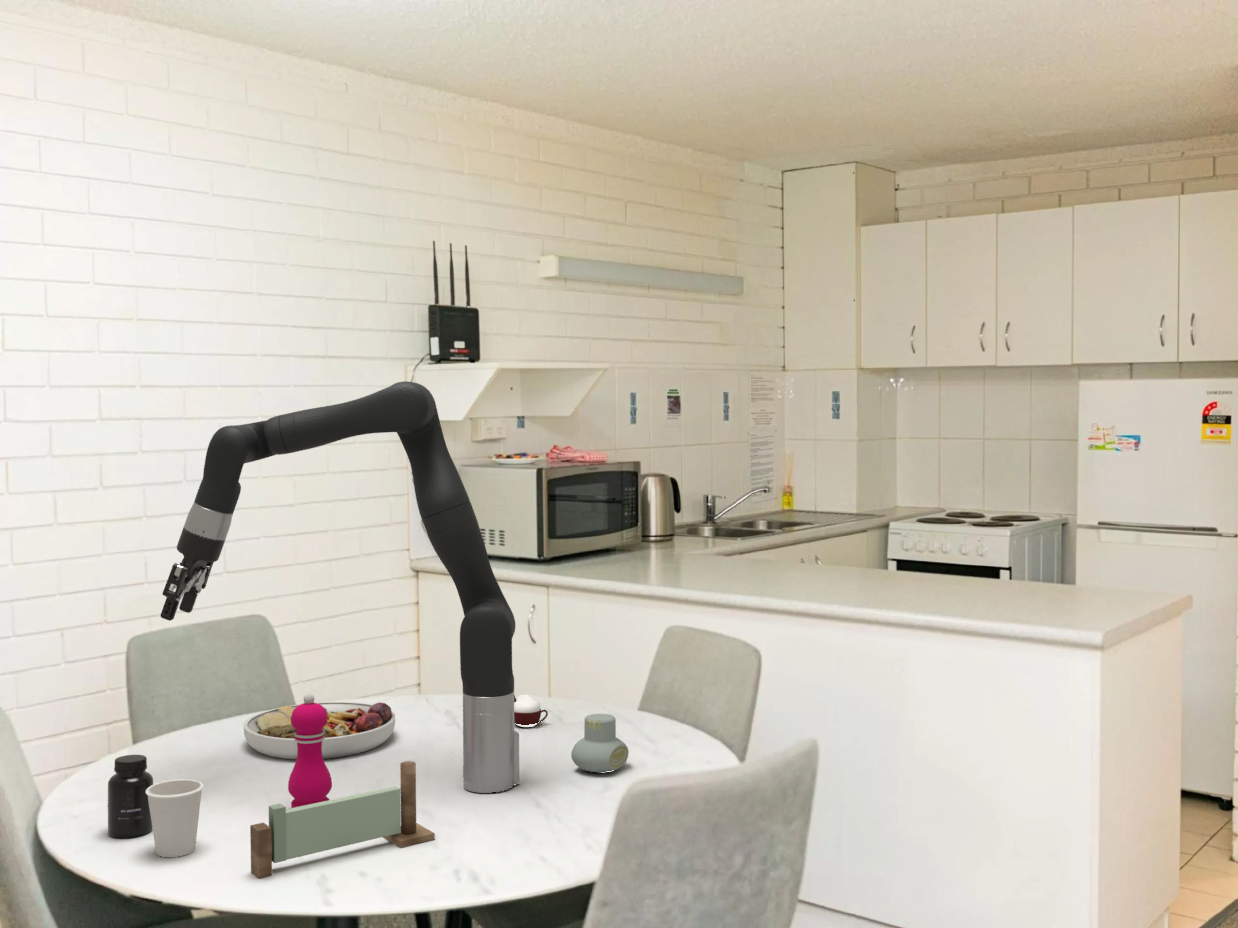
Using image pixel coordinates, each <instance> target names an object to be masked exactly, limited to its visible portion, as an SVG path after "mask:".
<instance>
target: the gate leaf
mask: <svg viewBox="0 0 1238 928" xmlns="http://www.w3.org/2000/svg"><path fill="white" fill-rule="evenodd" d="M268 826H269V827H271V841H272V863H273V864H277V863H281V862H286V861H288V860H292V859H295V858H300V857H305V856H308V855H313V854H316V853H320V852H321V853H322V852H325V851H326V852H327V851H330V850H334V849H337V848H342V847H346V846H351V845H355V844H358V843H359V844H360V843H363V842H366V841H372V840H377V839H380V838H384V837H385V836H389V835H393V834H398V833H401V787H398V786H390V787H386V788H382V789H381V788H380V789H376V790H372V791H366V792H362V793H357V794H353V795H347V796H343V797H339V798H334V799H329V800H328V801H323V802H319V803H314V804H309V805H304V806H300V807H295V808H291V807H290V808H286V806H285V805H284V804H282V803H275V804H271V805H269V806H268Z"/></svg>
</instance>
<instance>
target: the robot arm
mask: <svg viewBox="0 0 1238 928" xmlns="http://www.w3.org/2000/svg"><path fill="white" fill-rule="evenodd" d="M382 433H397V436H398V438H399V440H400V441H401V444H402V447H403V448H404V451H405V453H406V456H407V459H408V462H409V464H410V468H411V473H412V480H413V488H414V494H415V499H416V504H417V508H418V511H419V515H420V518H421V521H422V523H423V527H424V529H425V532H426V534H427V537H428V539H429V542H430V544H431V546H432V548H433V550H434V552H435V553H436V555H437V557H438V559H439V560H440V562H441V563H442V565H443V566H444V568H445V570H447V572H448V573H449V575H450V577H451V579H452V581H453V583H454V586H455V588H456V590H457V595H458V597H459V600H460V604H461V607H462V611H463V616H464V617H463V618H462V620H461V623H460V629H459V659H460V660H459V661H460V662H459V663H460V666H459V667H460V668H459V669H460V678H461V682H462V763H463V766H462V769H463V770H462V771H463V773H462V779H463V780H462V781H463V782H462V783H463V788H464V789H465V790H466V791H469V792H473V793H478V794H493V793H492V792H496V793H500V791H502V792H504V791H503V790H506V791H508V790H507V789H509V788H510V787H512V786H513V785H514V784H518V783H519V784H520V734H519V731H516V730H515V723H514V695H515V675H514V671H513V638H514V635H515V633H516V632H515V631H516V620H515V616H514V612H513V611H512V608H511V607H510V605H509V603H508V601H507V599H506V597H505V595H504V594H503V592H502V589H501V587H500V585H499V582H498V581H497V578H496V576H495V573H494V572H493V568H492V566H491V562H490V559H489V554H488V552H487V548H486V544H485V542H484V538H483V535H482V532H481V529H480V526H479V522H478V519H477V516H476V514H475V510H474V508H473V505H472V502H471V500H470V497H469V495H468V492H467V490H466V488H465V485H464V483H463V480H462V478H461V476H460V474H459V471H458V469H457V467H456V465H455V463H454V459H452V456H451V455H450V452H449V449H448V447H447V443H446V439H445V436H444V433H443V429H442V426H441V421H440V417H439V412H438V407H437V404H436V401H435V398H434V396H433V394H432V393H431V391H430V390H429V389H428V388H427V387H425V386H424V385H422V384H421V383H419V382H418V383H417V382H413V381H405V380H404V381H398V382H396V383H393V384H392V385H390V386H388V387H385V388H383V389H380V390H378V391H376V392H375V391H374V392H373V393H370V394H368V395H365V396H363V397H359V398H356V399H353V400H349V401H346V402H340V403H336V404H330V405H325V406H320V407H313V408H308V409H307V408H306V409H302V410H298V411H292V412H289V413H285V414H284V413H283V414H279V415H276V416H273V417H270V418H268V419H266V420H261V421H257V422H250V423H245V424H238V425H236V424H235V425H226V426H222V427H220V428H219V429H218V430H216V431H215V432H214V434H213V435H212V437H211V438H210V441H209V443H208V446H207V448H206V449H207V450H206V454H205V459H204V466H203V475H202V479H201V482H200V483H199V486H198V489H197V493H196V495H195V498H194V501H193V503H192V505H191V507H190V509H189V512H188V514H187V516H186V519H185V522H184V524H183V527H182V531H181V533H180V536H179V539H178V542H177V545H176V550H177V551H178V553H180V554H182V556H183V558H182V559H181V562H179V563H176V562H174V563H173V565H172V567H171V569H170V573H169V575H168V577H167V581H166V583H165V586H164V589H163V590H162V596H164V597H165V601H164V603H163V607H162V610H161V613H160V618H161V619H164V620H167V621H172V620H174V618H175V615H176V613H177V610H180V611H182V612H185V613H187V614H190V613H192V611H193V609H194V607H195V603H196V601H197V597H198V595H199V594H200V593H201V592H202V589H203V590H204V589H205V588H206V586H207V583H208V580H209V578H210V574H211V573H212V572H211V571H212V568H213V564H214V563H215V562H217V561H219V558H220V556H221V553H222V551H223V548H224V544H225V542H226V539H227V538H228V537H227V536H228V534H229V530H230V527H231V525H232V524H231V523H232V518H233V516H234V512H235V509H236V507H237V503H238V501H239V498H240V494H241V491H242V486H241V483H240V482H239V481H240V477H241V474H242V471H243V468H244V464H248V463H252V462H257V461H260V460H264V459H266V458H267V459H268V458H270V457H274V456H277V455H278V456H280V455H288V454H292V453H296V452H297V453H298V452H302V451H307V450H310V449H315V448H320V447H322V446H325V445H330V444H332V443H335V442H338V441H341V440H344V439H348V438H352V437H353V438H354V437H358V436H362V435H371V434H382ZM180 601H181V602H180ZM178 608H179V609H178ZM512 788H513V787H512ZM509 790H510V789H509Z"/></svg>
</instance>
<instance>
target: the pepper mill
mask: <svg viewBox="0 0 1238 928" xmlns="http://www.w3.org/2000/svg"><path fill="white" fill-rule="evenodd" d="M318 703H319V702H315V696H314V695H313V694H311V693H307V694H305V695H304V696H303V703H299V704H300V705H299V706H297V707H296V708H295V709H294V710H293V712H292V715H291V724H292V726H293V727H294V729H295V730H296V732H295V733H294V736H295V738H294V741H295V742H297V748H298V750H297V759H296V760H295V763H294V766H293V768H292V771H291V772H290V775H289V779H288V784H287V790H288V793H289V794H290V795H291V797H292V798H293V800H292V801H291V802H290V803H291V807H290V808H295V807H300V806H304V805H309V804H314V803H319V802H323V801H328V800H330V799H329V797H328V794H329V793H330V792H331V790H332V788H333V782H332V780H333V779H332V776H331V773H330V770H329V769H328V766H327V765H326V763H325V759H323V756H322V741H323V740H324V739H325V737H324V733H325V732H324V730H322V729H323V727H324V726H325V725H326V723H327V712H326V710H325V708H324V707H323V706H322V705H320V704H318Z"/></svg>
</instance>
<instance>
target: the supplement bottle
mask: <svg viewBox="0 0 1238 928" xmlns="http://www.w3.org/2000/svg"><path fill="white" fill-rule="evenodd" d="M147 761H148V759H147V756H145V755H143V754H127V755H122V756H118V757H117V758H115V759H114V767H113V772H115V774H113V775H112V776H111V777H110V778H109V779H108V781H107V831H108V834H109V836H111V837H113V838H116V839H117V838H118V839H131V838H138V837H141V836H145V835H147V834H149V833H150V832H151V831H153V828H152V821H151V815H150V808H149V802H148V795H147V794H146V789H147V788H148V787H150V786H151V785H153V784H154V777H153V776H152V774H151V773H149V772H148V771H146V770H147V769H148V764H147V763H148V762H147Z"/></svg>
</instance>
